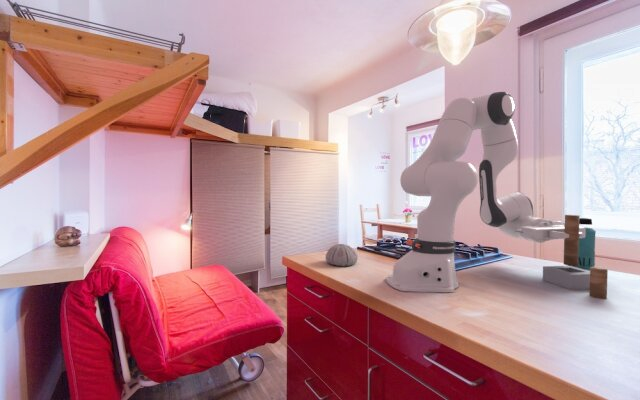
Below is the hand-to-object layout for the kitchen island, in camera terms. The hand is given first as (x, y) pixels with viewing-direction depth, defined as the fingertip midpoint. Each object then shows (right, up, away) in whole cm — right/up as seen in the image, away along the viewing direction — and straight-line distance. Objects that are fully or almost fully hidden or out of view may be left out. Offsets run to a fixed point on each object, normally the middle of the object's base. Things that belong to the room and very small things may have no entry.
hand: (574, 235), depth 94 cm
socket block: (0, -16, +1) cm, 16 cm away
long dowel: (0, -9, +1) cm, 10 cm away
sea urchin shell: (-72, -15, +28) cm, 79 cm away
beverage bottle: (+15, -15, +14) cm, 26 cm away
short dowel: (-2, -16, -10) cm, 19 cm away
